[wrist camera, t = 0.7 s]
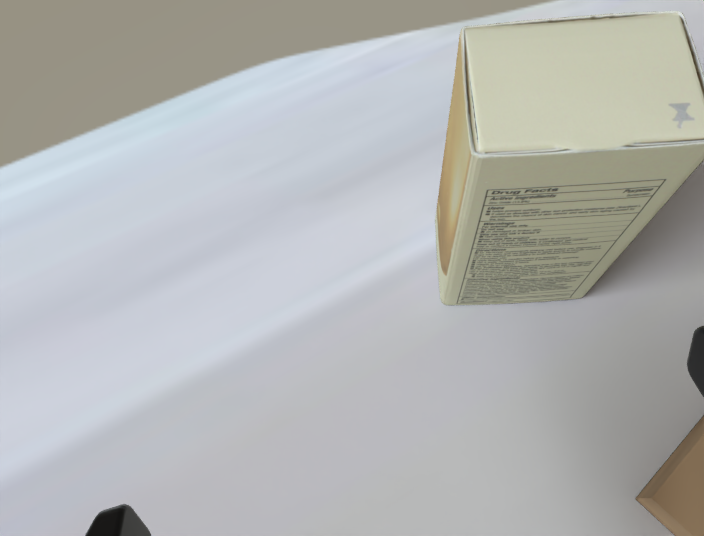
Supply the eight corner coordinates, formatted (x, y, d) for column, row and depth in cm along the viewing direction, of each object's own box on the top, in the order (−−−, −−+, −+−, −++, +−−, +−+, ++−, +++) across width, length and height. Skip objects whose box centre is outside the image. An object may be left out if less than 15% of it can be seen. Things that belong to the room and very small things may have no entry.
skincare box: (567, 211, 28) (698, 3, 16) (583, 302, 26) (740, 141, 15) (426, 217, 28) (456, 16, 16) (433, 307, 26) (472, 154, 15)
